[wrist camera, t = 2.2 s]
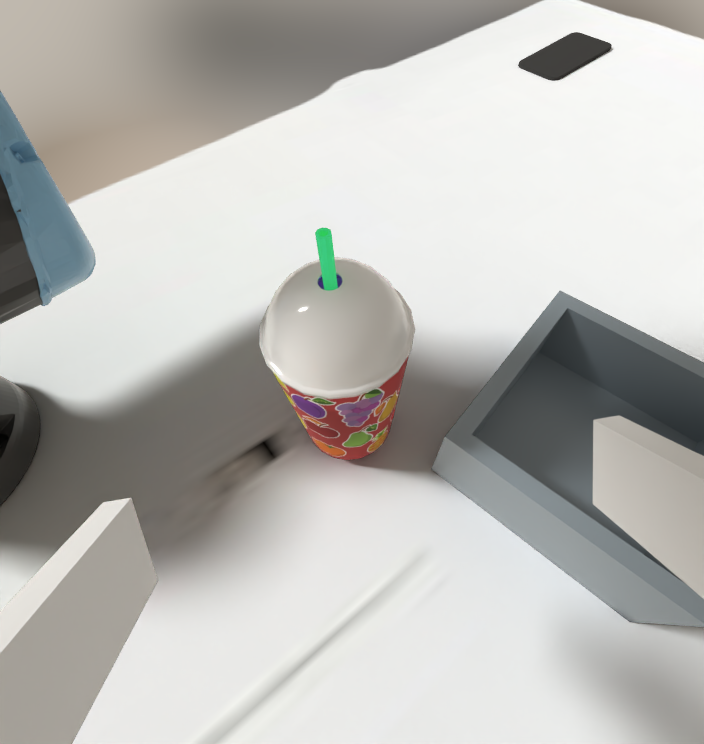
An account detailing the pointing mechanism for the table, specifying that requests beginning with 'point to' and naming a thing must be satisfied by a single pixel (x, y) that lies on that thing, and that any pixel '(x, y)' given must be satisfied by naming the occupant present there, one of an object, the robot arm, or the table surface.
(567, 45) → the phone
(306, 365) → the smoothie
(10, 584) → the table surface
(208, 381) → the table surface
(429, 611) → the table surface
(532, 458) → the tray
